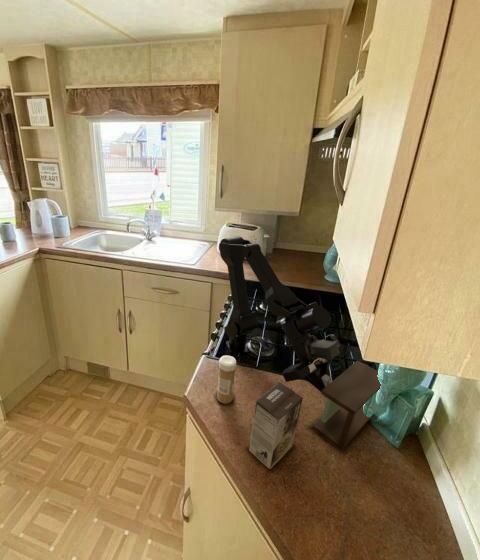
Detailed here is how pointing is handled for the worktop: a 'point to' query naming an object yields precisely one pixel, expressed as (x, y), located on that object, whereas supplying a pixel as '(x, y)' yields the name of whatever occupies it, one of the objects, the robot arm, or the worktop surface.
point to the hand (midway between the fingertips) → (328, 392)
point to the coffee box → (274, 424)
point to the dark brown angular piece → (348, 404)
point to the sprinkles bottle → (226, 379)
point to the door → (328, 402)
